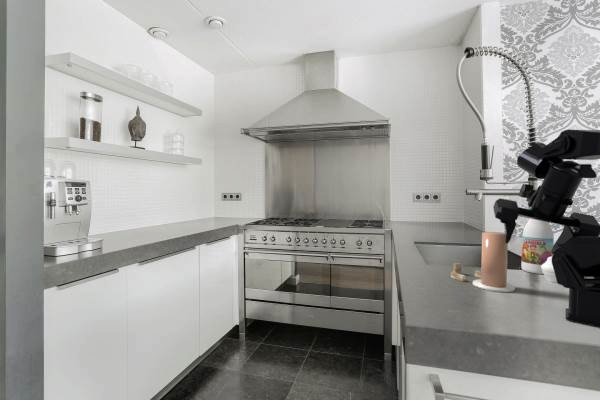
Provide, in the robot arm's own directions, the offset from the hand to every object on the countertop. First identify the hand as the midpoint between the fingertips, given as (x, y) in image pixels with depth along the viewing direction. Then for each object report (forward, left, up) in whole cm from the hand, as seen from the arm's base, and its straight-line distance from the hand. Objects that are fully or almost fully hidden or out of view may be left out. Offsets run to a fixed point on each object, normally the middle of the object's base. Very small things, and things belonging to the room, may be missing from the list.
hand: (528, 247), depth 72 cm
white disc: (+1, +7, -11) cm, 13 cm away
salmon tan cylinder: (+1, +7, -10) cm, 13 cm away
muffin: (+19, -5, -11) cm, 23 cm away
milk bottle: (+29, 0, -11) cm, 31 cm away
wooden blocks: (+7, +14, -11) cm, 19 cm away
